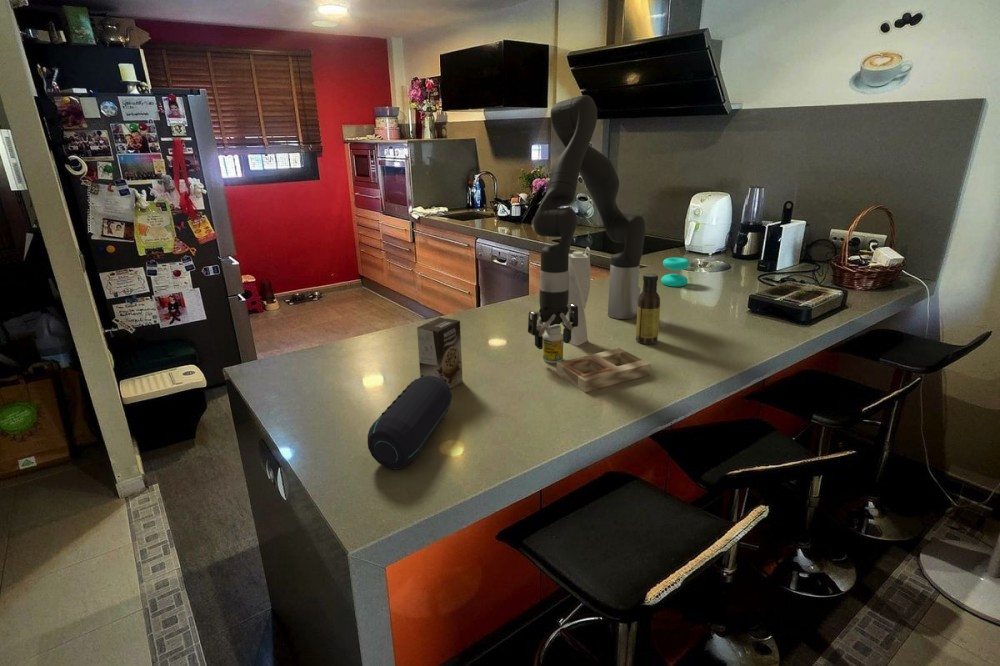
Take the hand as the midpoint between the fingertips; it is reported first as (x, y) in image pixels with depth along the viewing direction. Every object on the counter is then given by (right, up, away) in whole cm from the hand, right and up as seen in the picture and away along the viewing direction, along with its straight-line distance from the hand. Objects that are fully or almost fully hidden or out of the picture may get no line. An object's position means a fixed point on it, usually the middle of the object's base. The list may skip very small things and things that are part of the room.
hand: (552, 345), depth 142 cm
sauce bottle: (+29, +1, +13) cm, 31 cm away
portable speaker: (-32, -19, -35) cm, 51 cm away
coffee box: (-28, -10, -12) cm, 32 cm away
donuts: (+55, +23, +70) cm, 92 cm away
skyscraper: (+8, +1, +14) cm, 16 cm away
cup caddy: (+12, -7, -8) cm, 16 cm away
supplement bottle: (0, -4, +2) cm, 4 cm away
